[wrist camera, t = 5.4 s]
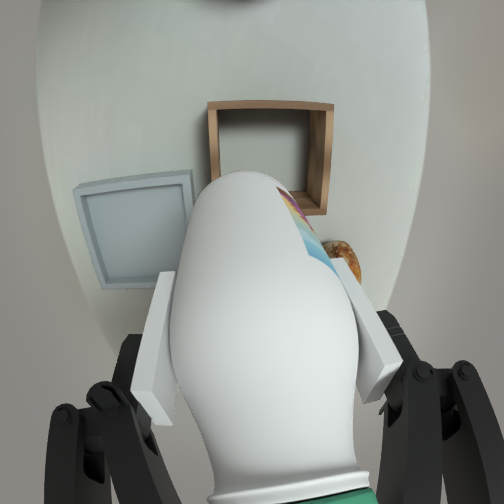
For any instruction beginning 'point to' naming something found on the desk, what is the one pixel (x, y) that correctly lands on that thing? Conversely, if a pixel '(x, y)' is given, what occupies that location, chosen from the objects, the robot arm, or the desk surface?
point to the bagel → (344, 256)
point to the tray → (135, 225)
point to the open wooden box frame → (318, 147)
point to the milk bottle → (266, 349)
